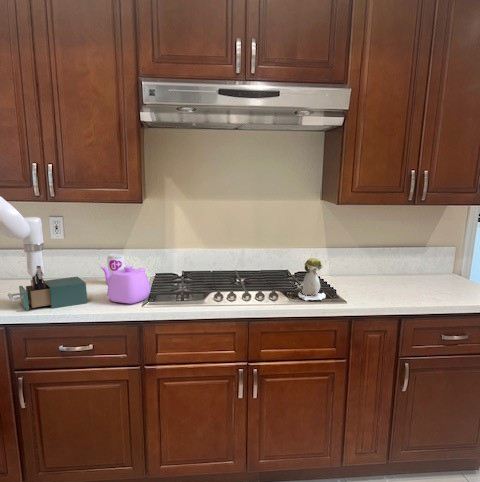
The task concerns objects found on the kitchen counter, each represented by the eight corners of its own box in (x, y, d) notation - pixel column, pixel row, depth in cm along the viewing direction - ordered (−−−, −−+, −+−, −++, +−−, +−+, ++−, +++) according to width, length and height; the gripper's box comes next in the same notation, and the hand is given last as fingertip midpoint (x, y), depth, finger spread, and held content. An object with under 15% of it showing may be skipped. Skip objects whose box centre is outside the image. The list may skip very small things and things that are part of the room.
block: (34, 293, 190) (32, 282, 189) (31, 290, 194) (30, 280, 193) (45, 291, 193) (44, 281, 192) (43, 289, 197) (42, 278, 195)
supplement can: (123, 286, 226) (122, 256, 222) (106, 286, 226) (105, 256, 222) (127, 282, 234) (126, 253, 230) (111, 282, 234) (109, 253, 230)
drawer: (12, 311, 184) (10, 294, 182) (7, 304, 193) (5, 287, 191) (60, 304, 194) (59, 287, 192) (54, 298, 203) (52, 281, 201)
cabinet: (51, 308, 192) (49, 287, 189) (44, 300, 202) (42, 280, 199) (87, 303, 200) (85, 282, 197) (79, 296, 210) (77, 276, 207)
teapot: (160, 294, 214) (159, 262, 210) (135, 307, 195) (133, 272, 191) (118, 289, 222) (116, 258, 218) (89, 301, 202) (87, 267, 198)
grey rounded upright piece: (293, 299, 211) (295, 259, 206) (303, 292, 222) (305, 254, 217) (319, 302, 206) (321, 262, 201) (327, 295, 217) (330, 257, 212)
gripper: (20, 245, 193) (25, 287, 198) (28, 252, 180) (33, 297, 185) (39, 243, 197) (43, 285, 202) (48, 250, 184) (53, 294, 189)
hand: (38, 290), depth 193 cm, fingers closed on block, 4 cm apart
